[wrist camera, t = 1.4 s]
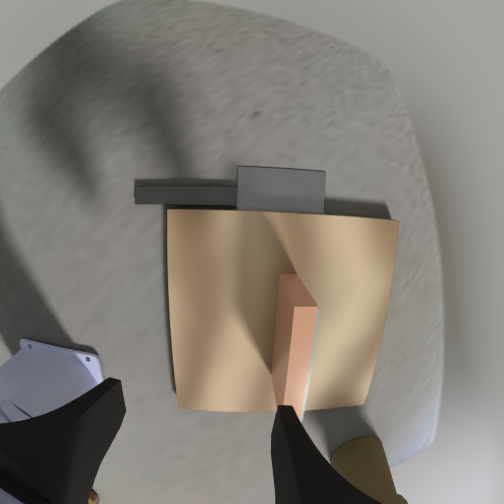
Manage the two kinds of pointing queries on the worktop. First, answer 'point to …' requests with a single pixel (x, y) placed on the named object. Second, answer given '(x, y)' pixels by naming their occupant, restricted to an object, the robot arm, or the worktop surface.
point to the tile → (293, 342)
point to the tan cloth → (274, 302)
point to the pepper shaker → (367, 469)
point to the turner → (250, 192)
